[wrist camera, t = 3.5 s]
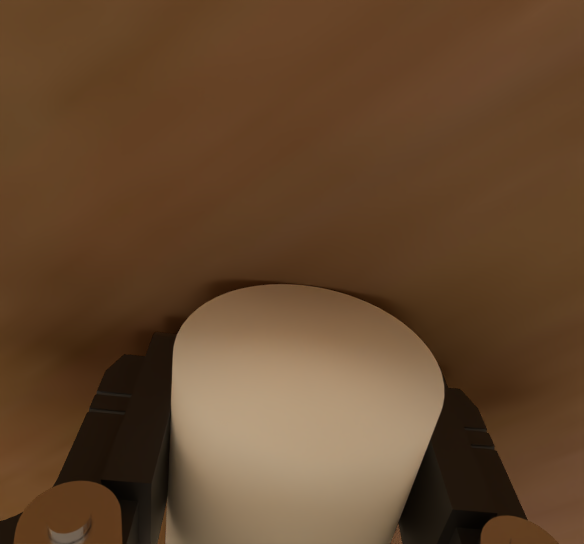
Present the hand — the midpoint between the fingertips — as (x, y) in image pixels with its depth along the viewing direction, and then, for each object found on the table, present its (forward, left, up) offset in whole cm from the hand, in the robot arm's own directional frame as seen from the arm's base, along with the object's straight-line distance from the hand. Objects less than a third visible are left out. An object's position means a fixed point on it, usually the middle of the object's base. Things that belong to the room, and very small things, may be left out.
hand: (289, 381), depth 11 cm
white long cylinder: (0, +6, 0) cm, 6 cm away
